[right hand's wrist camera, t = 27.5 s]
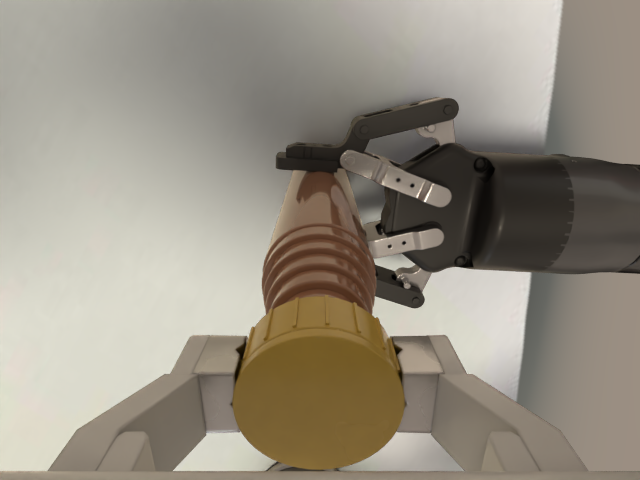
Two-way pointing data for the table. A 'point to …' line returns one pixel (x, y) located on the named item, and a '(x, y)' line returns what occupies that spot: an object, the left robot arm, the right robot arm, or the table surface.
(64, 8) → the table surface
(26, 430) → the table surface
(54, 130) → the table surface
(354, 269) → the bottle
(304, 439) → the cap
